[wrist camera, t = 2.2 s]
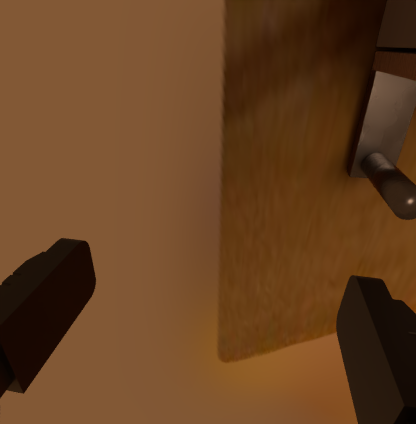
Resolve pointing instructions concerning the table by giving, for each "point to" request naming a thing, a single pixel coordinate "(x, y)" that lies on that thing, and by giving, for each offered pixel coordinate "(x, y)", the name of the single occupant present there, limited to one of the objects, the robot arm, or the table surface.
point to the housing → (398, 25)
